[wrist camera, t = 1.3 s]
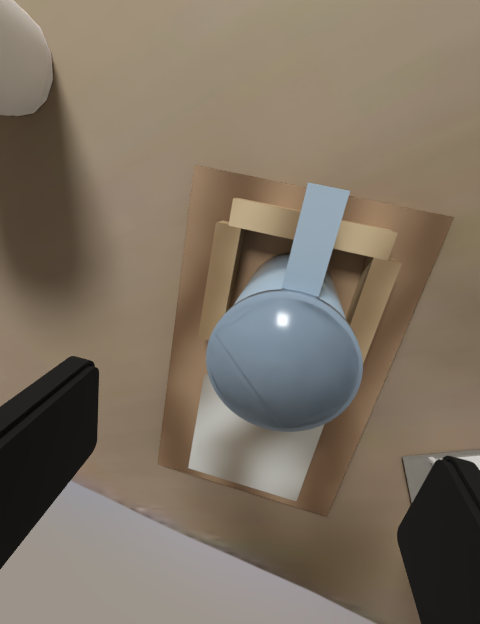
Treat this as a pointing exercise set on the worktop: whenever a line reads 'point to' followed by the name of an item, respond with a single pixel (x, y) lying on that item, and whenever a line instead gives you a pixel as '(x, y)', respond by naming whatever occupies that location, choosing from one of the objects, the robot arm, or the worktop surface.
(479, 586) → the robot arm
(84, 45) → the worktop surface
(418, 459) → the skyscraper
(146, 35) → the worktop surface
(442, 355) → the worktop surface
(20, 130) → the worktop surface
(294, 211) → the cradle
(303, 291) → the blue cylinder with tab
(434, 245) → the board
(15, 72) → the foam cup
